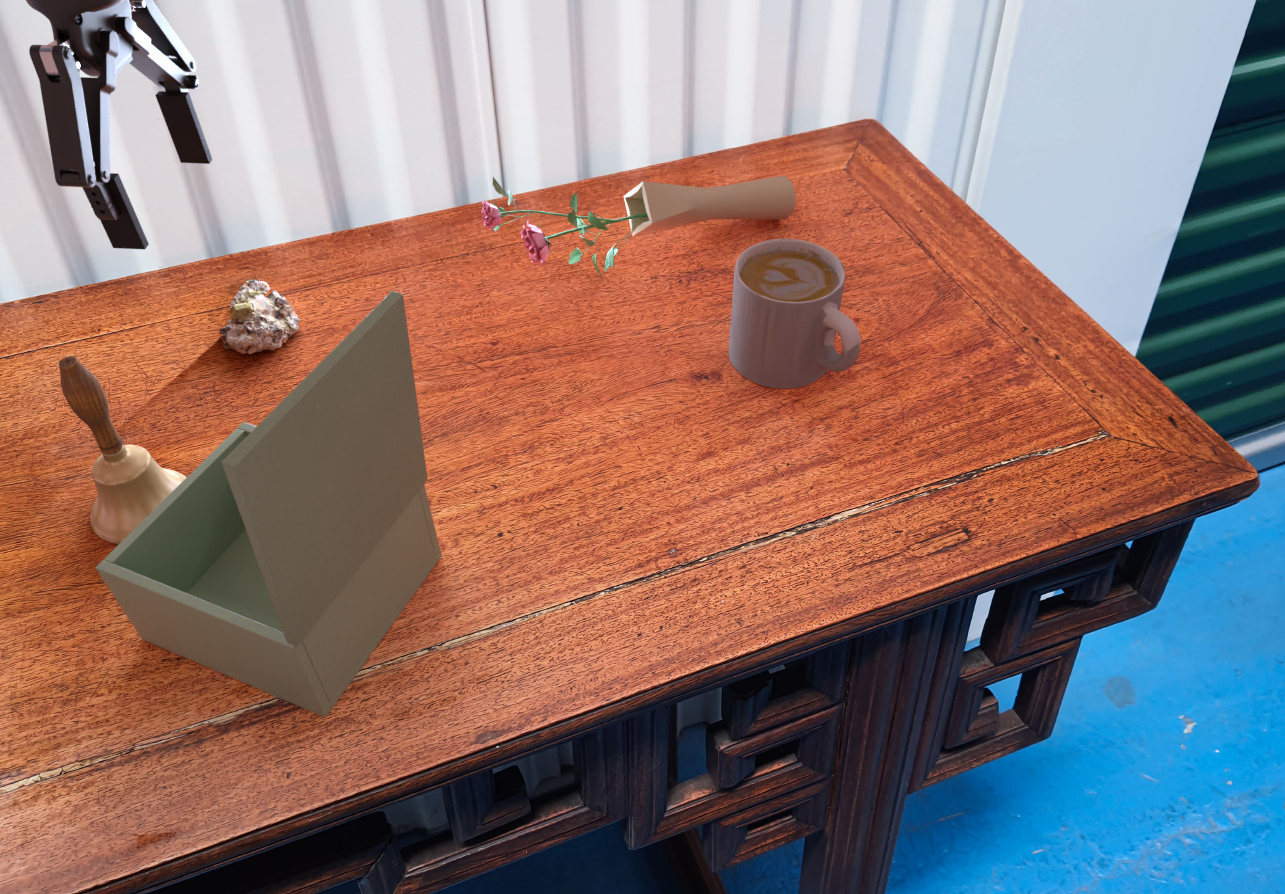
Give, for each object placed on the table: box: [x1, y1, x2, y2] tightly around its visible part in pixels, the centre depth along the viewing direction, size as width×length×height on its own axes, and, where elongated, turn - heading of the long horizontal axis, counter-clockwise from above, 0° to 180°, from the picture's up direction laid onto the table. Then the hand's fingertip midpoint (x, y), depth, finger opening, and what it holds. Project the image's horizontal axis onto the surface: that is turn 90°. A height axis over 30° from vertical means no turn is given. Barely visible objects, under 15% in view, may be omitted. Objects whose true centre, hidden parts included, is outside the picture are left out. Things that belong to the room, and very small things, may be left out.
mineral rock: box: [218, 278, 301, 355], centre depth 99 cm, size 11×4×8 cm
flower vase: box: [480, 175, 797, 279], centre depth 106 cm, size 12×12×35 cm
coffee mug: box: [728, 238, 861, 390], centre depth 92 cm, size 13×10×10 cm
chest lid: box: [222, 290, 428, 647], centre depth 62 cm, size 17×16×1 cm
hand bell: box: [58, 355, 188, 545], centre depth 78 cm, size 8×8×16 cm
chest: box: [95, 421, 442, 718], centre depth 74 cm, size 17×16×9 cm
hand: (165, 201), depth 86 cm, fingers open, 13 cm apart
